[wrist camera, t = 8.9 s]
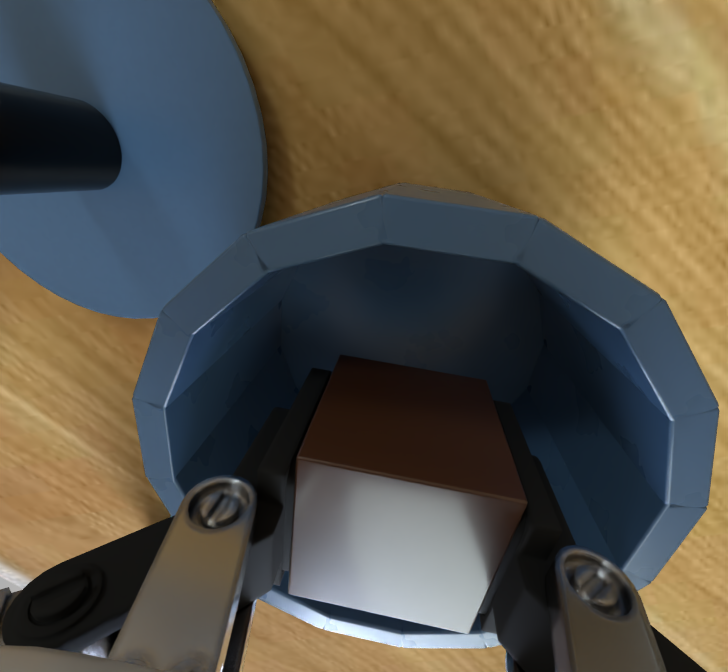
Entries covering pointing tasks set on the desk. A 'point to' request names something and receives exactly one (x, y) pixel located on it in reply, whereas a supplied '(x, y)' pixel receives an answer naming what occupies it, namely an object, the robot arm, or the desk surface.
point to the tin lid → (124, 147)
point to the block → (403, 495)
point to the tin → (441, 365)
